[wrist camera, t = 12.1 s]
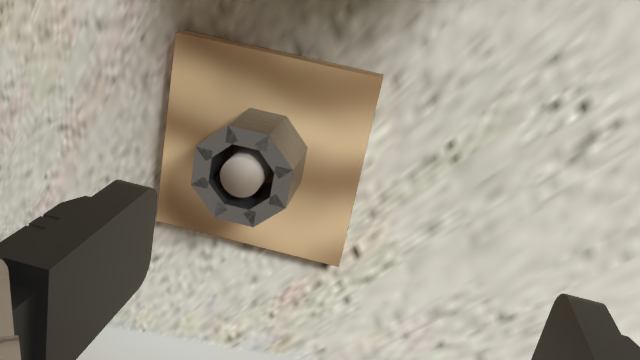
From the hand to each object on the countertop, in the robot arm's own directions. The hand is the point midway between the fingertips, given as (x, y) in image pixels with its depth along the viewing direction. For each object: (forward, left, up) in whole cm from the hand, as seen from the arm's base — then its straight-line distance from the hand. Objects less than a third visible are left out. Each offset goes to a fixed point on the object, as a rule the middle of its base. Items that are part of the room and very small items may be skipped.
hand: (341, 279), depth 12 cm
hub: (+8, -8, -28) cm, 30 cm away
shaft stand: (+8, -8, -30) cm, 32 cm away
